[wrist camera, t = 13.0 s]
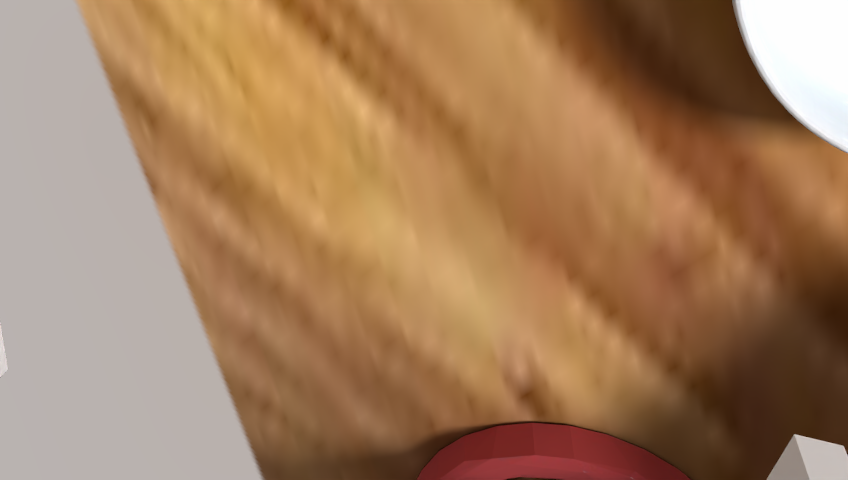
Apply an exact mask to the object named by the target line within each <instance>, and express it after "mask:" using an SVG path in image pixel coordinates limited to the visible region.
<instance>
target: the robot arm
mask: <svg viewBox="0 0 848 480" xmlns="http://www.w3.org/2000/svg"><path fill="white" fill-rule="evenodd" d="M7 370H8V367H7V361H6V354H5V348H4V342H3V336H2V330H1V324H0V377H1V376H2V375H3V374H4V373H5V372H6V371H7ZM766 480H848V455H847V453H846V450H845V448H844V446H842V445H838V444H834V443H830V442H825V441H821V440H817V439H813V438H809V437H804V436H800V435H796V434H794V435H793V437H792V439H791V440H790V442H789V443H788V445H787V447H786V448H785V450H784V452H783V453H782V455H781V457H780V458H779V460H778V461H777V463H776V465H775V466H774V468H773V470H772V471H771V473H770V475H769V476H768V478H767V479H766Z"/></svg>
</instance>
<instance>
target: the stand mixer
mask: <svg viewBox="0 0 848 480" xmlns="http://www.w3.org/2000/svg"><path fill="white" fill-rule="evenodd" d="M517 477H528V478H547V479H564V480H691V479H690V478H688V477H687V476H686V475H685V474H684V473H682V472H681V471H680V470H679V469H677V468H676V467H674V466H672V465H670V464H669V463H667V462H665V461H664V460H662V459H660V458H658V457H657V456H655V455H653V454H652V453H650V452H648V451H647V450H645V449H642V448H640V447H637V446H635V445H632V444H630V443H627V442H625V441H622V440H620V439H617V438H615V437H612V436H610V435H607V434H603V433H599V432H594V431H590V430H586V429H582V428H578V427H573V426H568V425H555V424H542V423H524V424H513V425H503V426H496V427H492V428H489V429H486V430H482V431H479V432H475V433H472V434H469V435H465V436H463V437H462V438H460V439H458V440H456V441H455V442H453V443H451V444H450V445H448V446H446V447H445V448H443V449H441V450H440V451H439V452H438V453H437V454H436V455H435V456H434V457H433V458H432V459H431V460H430V462H429V463H428V464H427V465H426V466H425V467H424V468H423V469H422V471H421V472H420V474H419V476H418V478H417V480H505V479H510V478H517Z"/></svg>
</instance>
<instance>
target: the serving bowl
mask: <svg viewBox="0 0 848 480" xmlns="http://www.w3.org/2000/svg"><path fill="white" fill-rule="evenodd" d="M732 3H733V8H734V13H735V17H736V20H737V24H738V27H739V30H740V33H741V36H742V39H743V42H744V44H745V47H746V49H747V51H748V54H749V56H750V58H751V60H752V62H753V63H754V65H755V67H756V69H757V71H758V73H759V74H760V76H761V78H762V79H763V81H764V82H765V84H766V85H767V87H768V88H769V90H770V91H771V93H772V94H773V95H774V96H775V97H776V99H777V100H778V101H779V102H780V103H781V104H782V105H783V106H784V107H785V109H786V110H787V111H788V112H789V113H790V114H791V115H792V116H793V117H794V118H795V119H796V120H797V121H799V122H800V123H801V124H802V125H804V126H805V127H806V128H807V129H809V130H810V131H811V132H813V133H814V134H816V135H817V136H818V137H820V138H821V139H823V140H824V141H826V142H828V143H829V144H831V145H833V146H834V147H836V148H838V149H840V150H841V151H844V152H846V153H848V0H732Z"/></svg>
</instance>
